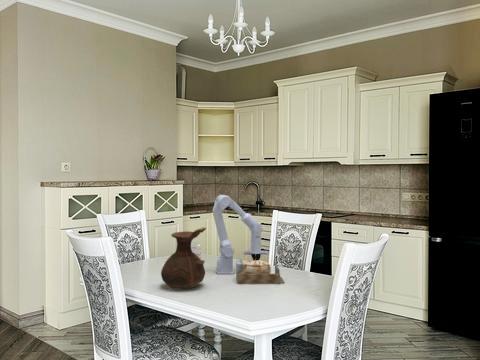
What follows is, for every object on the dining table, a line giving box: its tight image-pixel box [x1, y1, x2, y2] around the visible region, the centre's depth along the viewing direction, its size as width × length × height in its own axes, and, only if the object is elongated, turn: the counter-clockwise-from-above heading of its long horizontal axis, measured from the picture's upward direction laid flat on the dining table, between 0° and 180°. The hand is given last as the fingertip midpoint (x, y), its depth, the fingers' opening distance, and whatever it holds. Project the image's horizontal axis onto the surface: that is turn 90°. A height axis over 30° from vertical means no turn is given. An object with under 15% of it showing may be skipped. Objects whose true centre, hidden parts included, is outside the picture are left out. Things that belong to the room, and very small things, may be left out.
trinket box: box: [243, 259, 272, 274], centre depth 251 cm, size 13×15×8 cm
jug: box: [160, 227, 207, 290], centre depth 224 cm, size 22×22×30 cm
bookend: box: [274, 264, 286, 284], centre depth 238 cm, size 4×12×7 cm, turn 3°
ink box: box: [191, 240, 202, 260], centre depth 280 cm, size 9×5×15 cm, turn 71°
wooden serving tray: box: [235, 259, 281, 285], centre depth 237 cm, size 22×13×10 cm, turn 93°
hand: (255, 267), depth 260 cm, fingers closed
